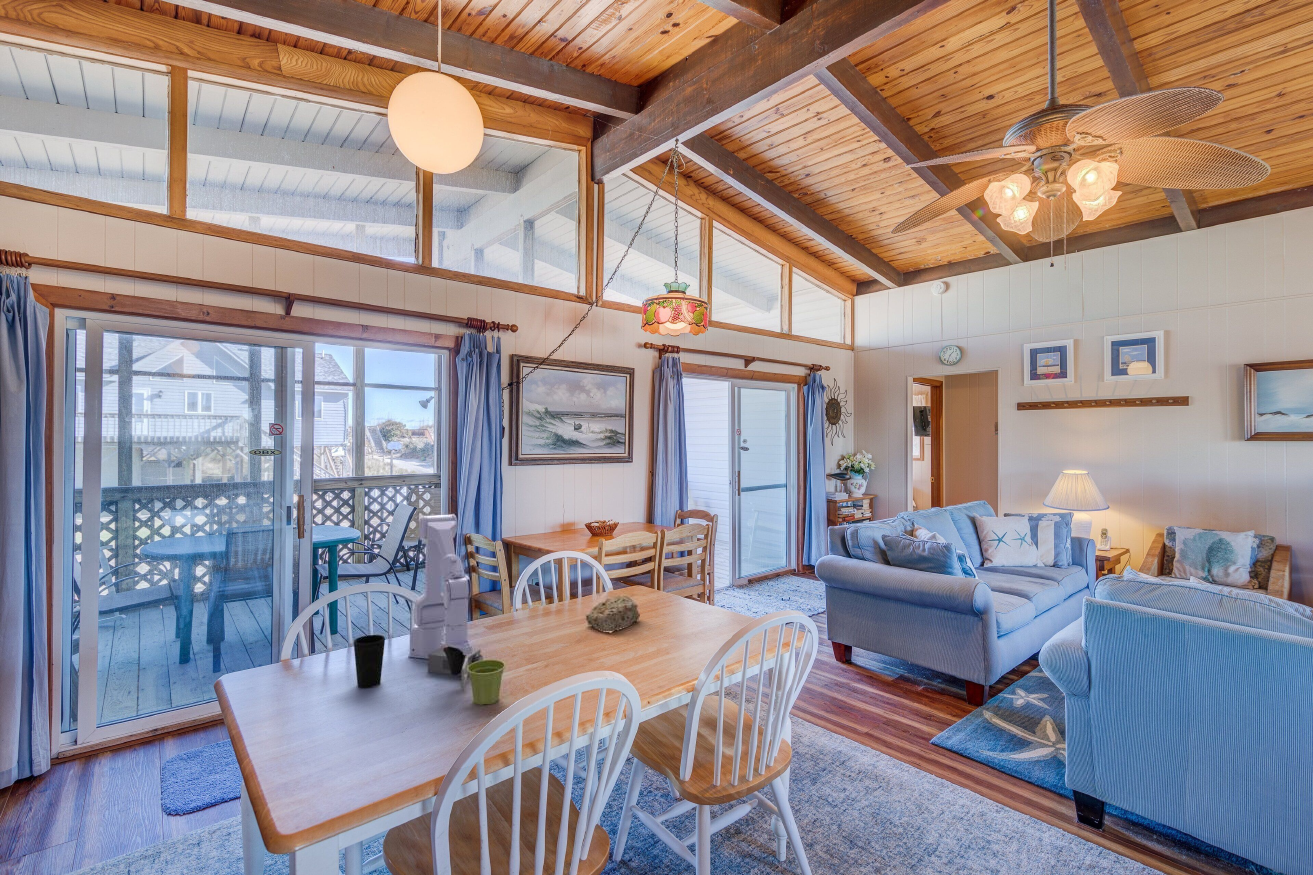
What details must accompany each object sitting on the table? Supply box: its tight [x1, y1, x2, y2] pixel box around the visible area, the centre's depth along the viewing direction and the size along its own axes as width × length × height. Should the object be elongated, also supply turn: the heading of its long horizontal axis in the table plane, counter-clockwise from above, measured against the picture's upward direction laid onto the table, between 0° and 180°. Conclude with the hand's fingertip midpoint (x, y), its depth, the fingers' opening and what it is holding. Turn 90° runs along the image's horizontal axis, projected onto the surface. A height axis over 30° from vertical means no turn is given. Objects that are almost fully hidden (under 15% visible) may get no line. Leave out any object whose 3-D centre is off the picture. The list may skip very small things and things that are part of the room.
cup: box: [353, 634, 386, 689], centre depth 166 cm, size 8×8×12 cm
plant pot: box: [467, 659, 506, 706], centre depth 157 cm, size 9×9×9 cm
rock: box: [584, 595, 641, 631], centre depth 222 cm, size 21×14×10 cm
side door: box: [460, 659, 469, 690], centre depth 168 cm, size 9×1×5 cm, turn 11°
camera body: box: [427, 646, 484, 677], centre depth 177 cm, size 14×8×6 cm, turn 77°
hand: (455, 674), depth 166 cm, fingers closed
